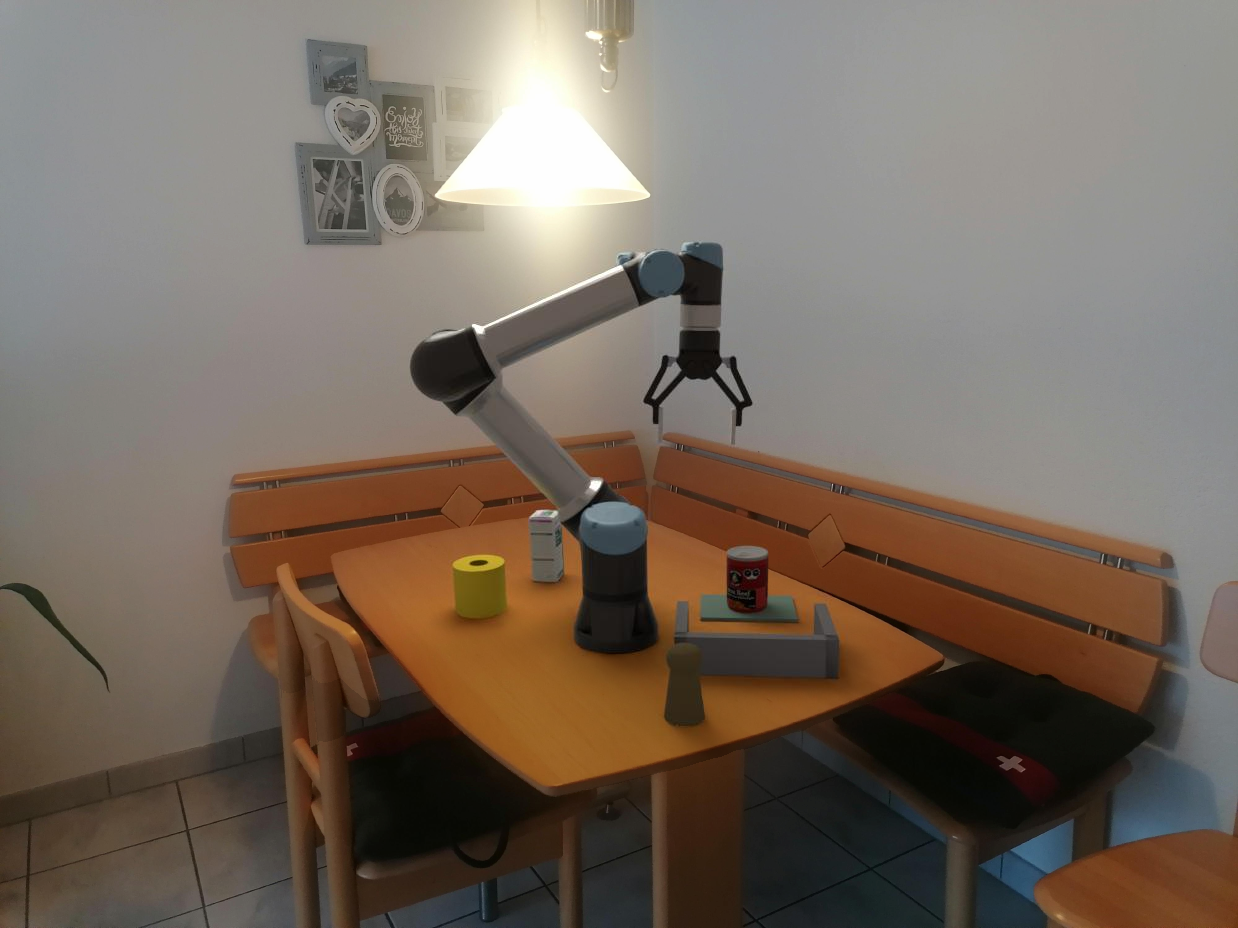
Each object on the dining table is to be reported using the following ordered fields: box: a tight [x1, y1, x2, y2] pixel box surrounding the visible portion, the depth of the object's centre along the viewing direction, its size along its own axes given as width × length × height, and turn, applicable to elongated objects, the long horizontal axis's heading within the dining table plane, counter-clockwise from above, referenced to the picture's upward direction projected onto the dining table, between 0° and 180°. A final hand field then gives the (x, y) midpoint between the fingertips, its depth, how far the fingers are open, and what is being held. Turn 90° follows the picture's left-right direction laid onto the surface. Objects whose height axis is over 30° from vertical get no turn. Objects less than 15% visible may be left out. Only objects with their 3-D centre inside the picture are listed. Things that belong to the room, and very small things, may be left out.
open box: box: [673, 600, 840, 679], centre depth 143 cm, size 26×16×6 cm, turn 84°
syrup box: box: [528, 509, 565, 583], centre depth 183 cm, size 6×6×14 cm
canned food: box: [726, 545, 769, 613], centre depth 163 cm, size 8×8×11 cm
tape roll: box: [452, 554, 508, 619], centre depth 167 cm, size 10×10×9 cm
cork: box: [663, 643, 706, 727], centre depth 123 cm, size 6×6×11 cm
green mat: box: [699, 593, 799, 623], centre depth 164 cm, size 18×12×1 cm, turn 84°
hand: (696, 442), depth 161 cm, fingers open, 13 cm apart
